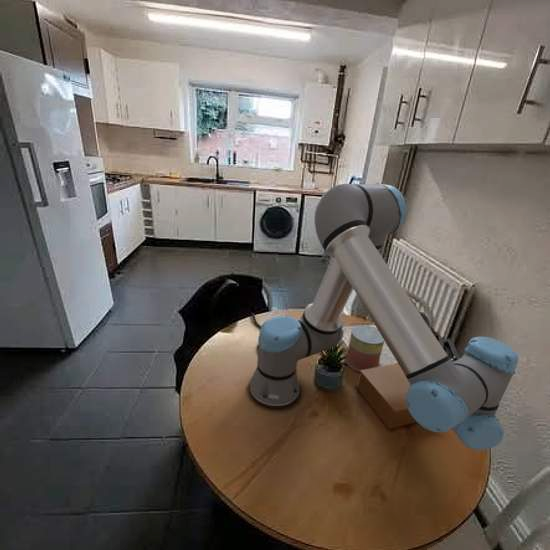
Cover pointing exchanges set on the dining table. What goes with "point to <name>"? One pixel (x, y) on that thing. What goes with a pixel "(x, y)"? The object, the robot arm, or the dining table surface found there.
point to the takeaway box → (387, 393)
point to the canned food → (364, 348)
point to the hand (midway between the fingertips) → (408, 325)
